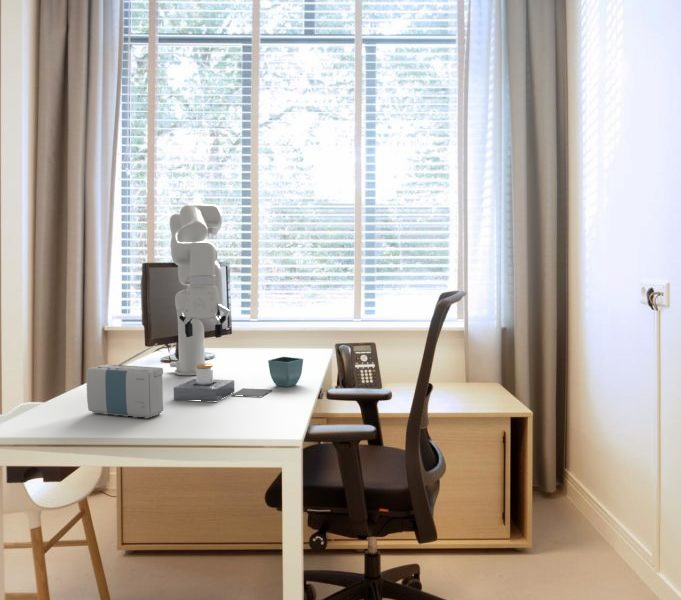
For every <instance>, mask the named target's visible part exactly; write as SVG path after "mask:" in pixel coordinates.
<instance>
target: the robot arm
mask: <svg viewBox="0 0 681 600" xmlns="http://www.w3.org/2000/svg"><path fill="white" fill-rule="evenodd" d="M222 223H223V214H222V211H221V208H220V207H219V206H218V205H216V204H213V203H212V204H209V203H205V204H204V203H189V204H185V205H183V206H182V208H181V209H180V211H179V212H178V213H174V214H172V215H171V216H170V218H169V228H170V233H171V236H172V237H171V238H170V254H171V255H170V256H171V259H172V261H173V263H174V264H175V265H177V275H178V277H177V278H178V282H179V283H180V284H181V285H183V286H187V288H186V289H182V290H180V291H178V292H177V293H176V294H175V298H174V304H175V305H174V306H175V309H176V316H177V317H176V318H177V332H178V334H177V335H178V337H177V338H178V339H177V340H178V360H177V361H170V363H169V367H170V368H176V369H175V370H174V373H175V375H178V376H196V365H197V364H206V353H205V351H206V350H205V326H204V323H203V322H202V321H201V320H205V319H207V320H209V319H212V320H213V321H214V322H215V323H216V324H214V329H215V330H214V334H215V335H214V336H215V338H216V339H217V338H221V337H222V336H223V324H224V323H225V321H226V320H228V317H229V315H230V313H231V310H230V309H228V307H225V306H223V305H224V302H223V301H224V300H223V299H224V298H223V280H222V279H223V278H222V277H223V275H222V274H223V273H222V268H221V267H222V266H221V265H220V263H219V262H218V249H217V247H216V245H215V244H214V243H213V242H210V241H204V240H205V239H207V237H212V236H216V235H218V233H219V230H220V228H221V226H222ZM221 312H223V314H222V316H221Z"/></svg>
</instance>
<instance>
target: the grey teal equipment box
mask: <svg viewBox="0 0 681 600" xmlns="http://www.w3.org/2000/svg"><path fill="white" fill-rule="evenodd" d="M157 345H158V343H154V345H152V346H150V347H148V348H146V349H144V350H142V351H141V352H139V353H136V354H135V355H133V356H131V357H129V358H128V359H126V360H124V361H122V362H121V363H119V364H111V363H110V364H109V363H106V364H100V365H96V366H92V367H89V368H87V369H86V399H87V402H86V403H87V408H88V411H89V412H91V413H92V412H94V413H97V414H98V413H106V414H105V415H108V414H114V415H113V416H118V415H124V416H123V417H128V416H133V417H132V418H137V417H145V418H144V419H147V418H149V417H151V418H153V417H152V416H154V417H156V416H158V415H157V414H159V415H161V414H162V412H163V411H164V394H163V393H164V392H163V375H164V368H163V367H155V366H140V365H126V363H127V362H129V361H132V360H133V359H135V358H136V357H138V356H140V355H142V354H144V353H145V352H146V351H149V350H150V349H151V348H153V347H155V346H157ZM94 413H93V414H94ZM160 413H161V414H160ZM155 415H156V416H155ZM149 419H150V418H149Z"/></svg>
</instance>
